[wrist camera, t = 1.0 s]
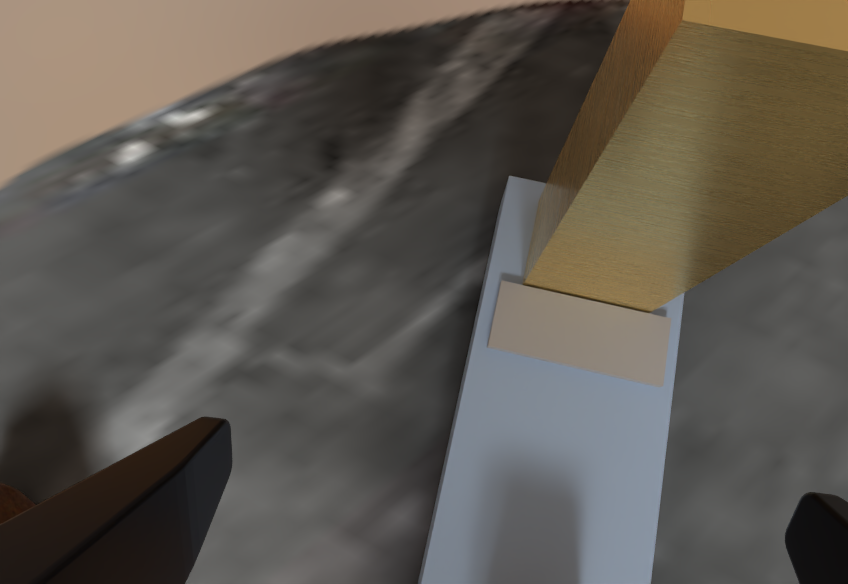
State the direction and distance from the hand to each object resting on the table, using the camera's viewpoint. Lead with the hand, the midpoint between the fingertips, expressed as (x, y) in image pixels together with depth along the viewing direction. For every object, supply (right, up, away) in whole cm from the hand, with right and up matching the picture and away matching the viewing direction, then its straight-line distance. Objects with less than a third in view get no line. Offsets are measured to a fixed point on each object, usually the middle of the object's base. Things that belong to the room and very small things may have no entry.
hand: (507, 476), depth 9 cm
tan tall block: (+5, +4, +12) cm, 13 cm away
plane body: (+3, -3, +13) cm, 13 cm away
